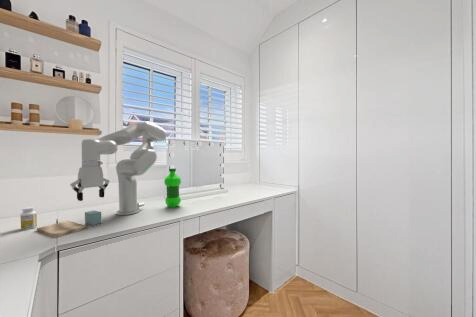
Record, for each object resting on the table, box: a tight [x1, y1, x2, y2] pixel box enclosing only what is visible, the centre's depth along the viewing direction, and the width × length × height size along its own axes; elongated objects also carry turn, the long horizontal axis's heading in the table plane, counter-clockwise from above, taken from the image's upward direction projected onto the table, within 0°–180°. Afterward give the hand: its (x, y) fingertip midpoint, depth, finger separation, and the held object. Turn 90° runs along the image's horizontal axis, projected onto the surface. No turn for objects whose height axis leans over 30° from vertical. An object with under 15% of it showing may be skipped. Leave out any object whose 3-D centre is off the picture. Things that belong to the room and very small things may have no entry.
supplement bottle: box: [20, 206, 38, 231], centre depth 100 cm, size 5×5×10 cm
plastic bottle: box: [163, 167, 182, 208], centre depth 137 cm, size 10×10×25 cm
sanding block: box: [84, 210, 102, 227], centre depth 105 cm, size 7×4×6 cm, turn 62°
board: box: [36, 220, 88, 238], centre depth 97 cm, size 12×18×1 cm, turn 62°
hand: (91, 198), depth 104 cm, fingers open, 9 cm apart
